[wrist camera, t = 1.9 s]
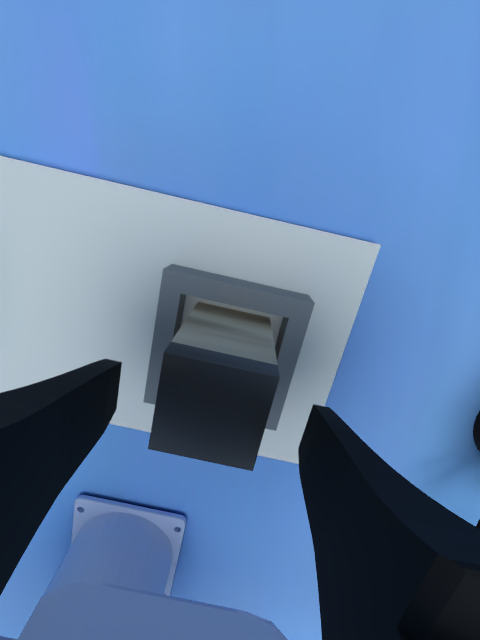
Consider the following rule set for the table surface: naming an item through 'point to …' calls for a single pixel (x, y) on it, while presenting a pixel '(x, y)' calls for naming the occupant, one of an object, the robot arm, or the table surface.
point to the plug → (216, 387)
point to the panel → (165, 289)
